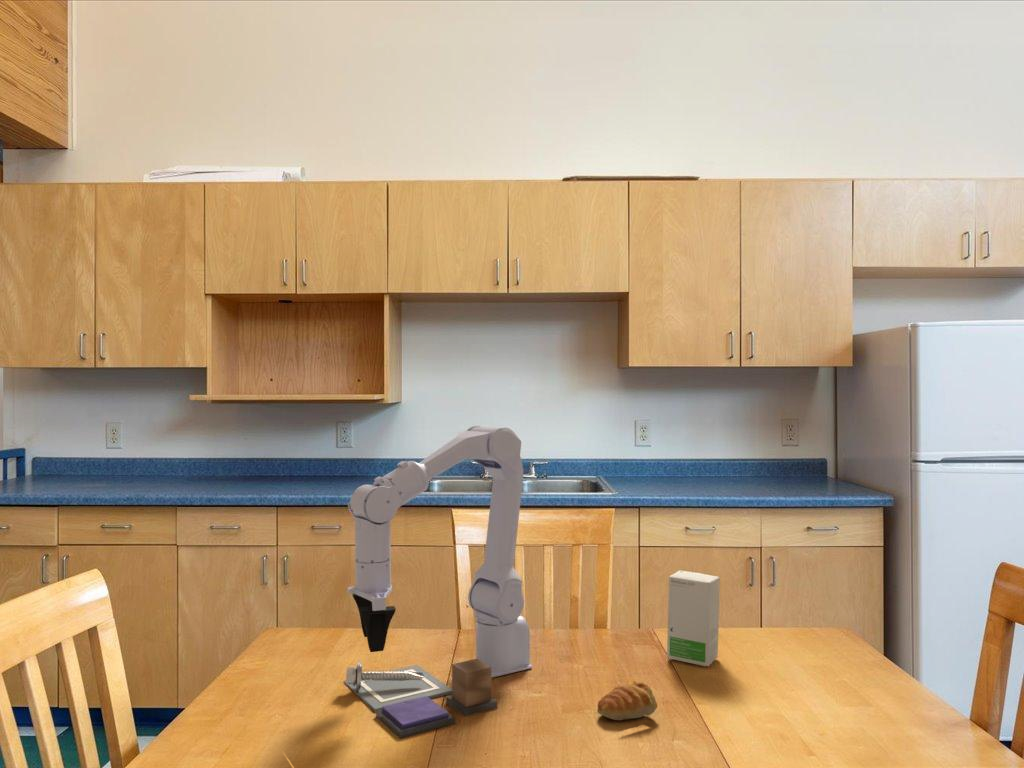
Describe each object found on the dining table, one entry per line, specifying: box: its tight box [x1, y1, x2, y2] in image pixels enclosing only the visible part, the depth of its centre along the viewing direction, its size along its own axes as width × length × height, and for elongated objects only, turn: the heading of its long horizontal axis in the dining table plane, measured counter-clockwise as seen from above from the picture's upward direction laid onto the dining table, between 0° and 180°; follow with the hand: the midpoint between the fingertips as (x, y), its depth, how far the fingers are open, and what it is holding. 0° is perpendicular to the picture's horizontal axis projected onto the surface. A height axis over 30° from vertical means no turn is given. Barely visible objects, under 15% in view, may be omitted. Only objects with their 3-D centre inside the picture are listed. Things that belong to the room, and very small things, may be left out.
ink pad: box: [375, 696, 456, 739], centre depth 118 cm, size 9×9×2 cm
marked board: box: [343, 664, 452, 713], centre depth 130 cm, size 14×14×1 cm
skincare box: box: [666, 569, 721, 667], centre depth 145 cm, size 8×7×16 cm
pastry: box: [596, 681, 658, 721], centre depth 120 cm, size 9×7×4 cm
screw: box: [345, 660, 424, 692], centre depth 129 cm, size 13×5×5 cm, turn 101°
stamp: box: [445, 658, 498, 717], centre depth 123 cm, size 6×6×6 cm
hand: (373, 643), depth 124 cm, fingers open, 7 cm apart
